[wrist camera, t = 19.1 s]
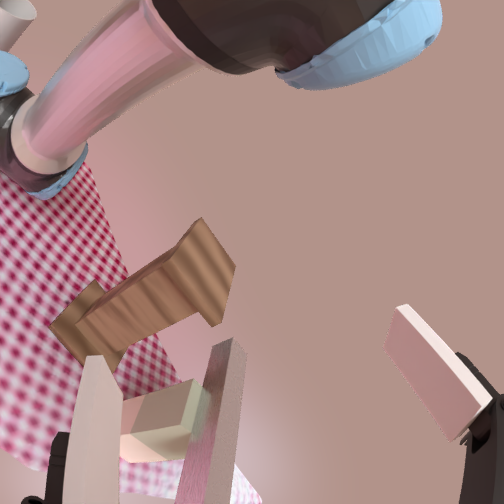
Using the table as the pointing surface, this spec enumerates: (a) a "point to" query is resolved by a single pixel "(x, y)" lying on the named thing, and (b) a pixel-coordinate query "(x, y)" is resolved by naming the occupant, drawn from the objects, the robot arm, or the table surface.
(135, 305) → the walnut stand
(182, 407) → the tower upper
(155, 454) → the tower lower
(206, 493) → the steel bar
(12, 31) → the cylinder vase
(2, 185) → the table surface
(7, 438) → the table surface
